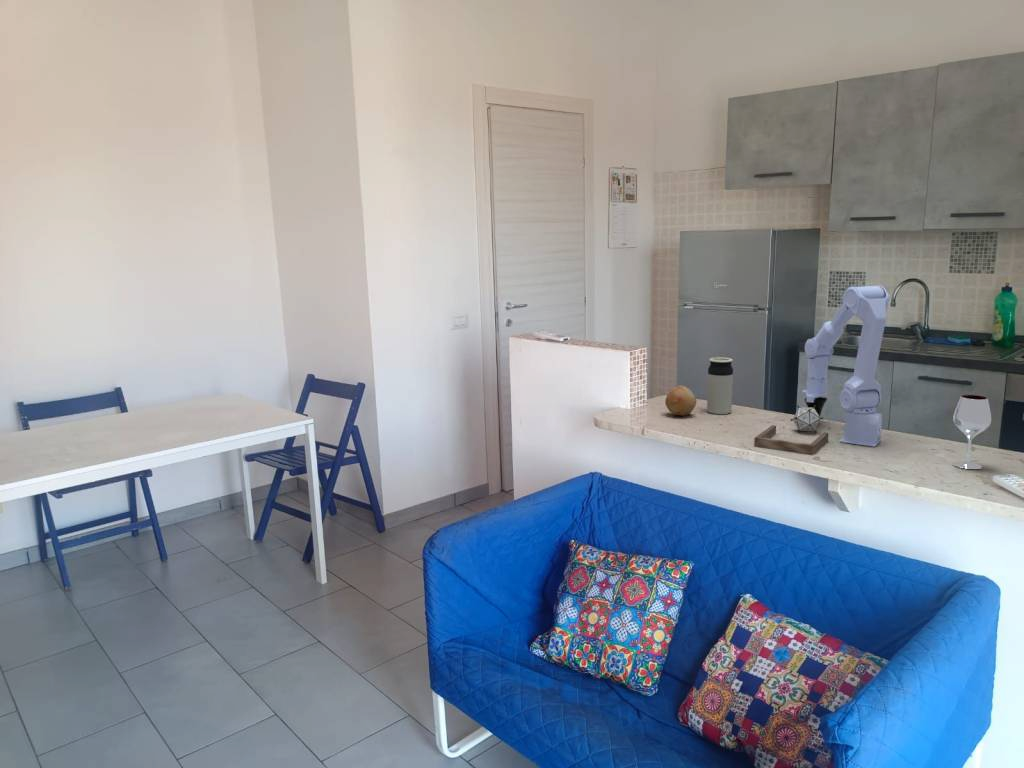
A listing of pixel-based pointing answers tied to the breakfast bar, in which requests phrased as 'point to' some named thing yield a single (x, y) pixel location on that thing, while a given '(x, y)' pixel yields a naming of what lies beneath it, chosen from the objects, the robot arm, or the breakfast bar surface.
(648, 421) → the breakfast bar surface
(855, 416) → the robot arm
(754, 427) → the breakfast bar surface
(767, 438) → the u-shaped wooden tray
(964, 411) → the wineglass
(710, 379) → the travel mug
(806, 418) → the game die
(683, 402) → the onion
